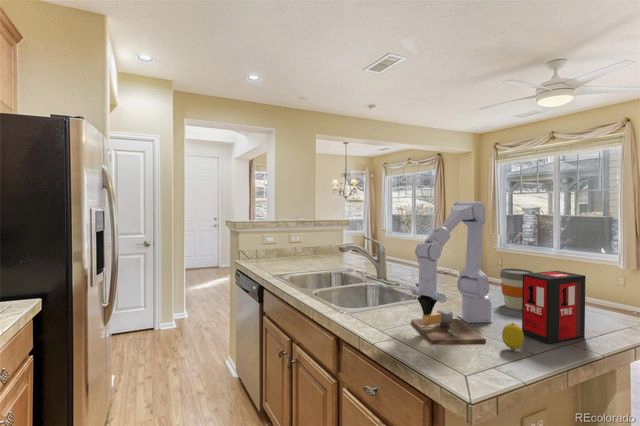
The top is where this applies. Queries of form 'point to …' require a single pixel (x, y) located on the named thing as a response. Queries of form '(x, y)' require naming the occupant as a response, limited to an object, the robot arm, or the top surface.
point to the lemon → (513, 336)
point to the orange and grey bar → (437, 318)
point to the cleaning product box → (553, 306)
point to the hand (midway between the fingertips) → (427, 318)
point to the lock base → (448, 332)
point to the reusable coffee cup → (512, 287)
